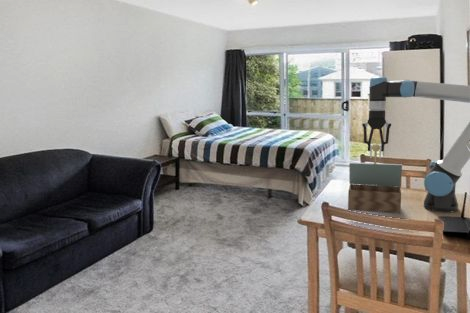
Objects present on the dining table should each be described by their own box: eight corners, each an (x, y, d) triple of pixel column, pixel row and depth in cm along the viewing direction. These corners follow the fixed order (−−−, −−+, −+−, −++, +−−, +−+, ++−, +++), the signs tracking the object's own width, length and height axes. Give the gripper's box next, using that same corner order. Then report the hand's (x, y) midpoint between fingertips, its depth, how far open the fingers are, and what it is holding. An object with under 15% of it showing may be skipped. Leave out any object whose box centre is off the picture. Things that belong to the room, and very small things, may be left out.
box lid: (400, 188, 200) (400, 184, 202) (403, 146, 189) (403, 143, 192) (349, 185, 208) (349, 181, 211) (349, 145, 197) (349, 142, 200)
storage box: (399, 205, 202) (399, 186, 201) (400, 213, 191) (401, 193, 189) (349, 202, 210) (350, 184, 208) (348, 209, 199) (348, 190, 197)
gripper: (358, 110, 192) (357, 158, 196) (396, 110, 187) (394, 159, 191) (359, 109, 199) (357, 155, 203) (395, 109, 194) (393, 156, 198)
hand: (375, 157), depth 197 cm, fingers closed on box lid, 4 cm apart
